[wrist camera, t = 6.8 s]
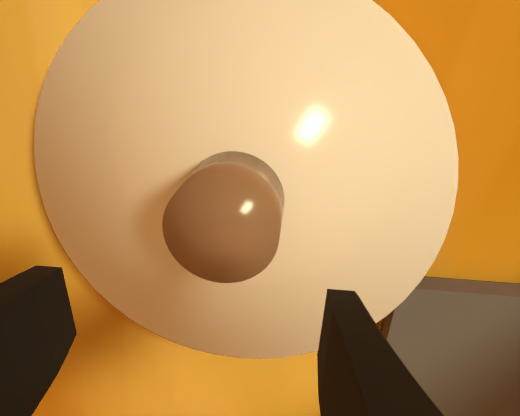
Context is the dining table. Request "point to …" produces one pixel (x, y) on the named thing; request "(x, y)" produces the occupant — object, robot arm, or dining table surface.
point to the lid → (245, 165)
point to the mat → (461, 344)
